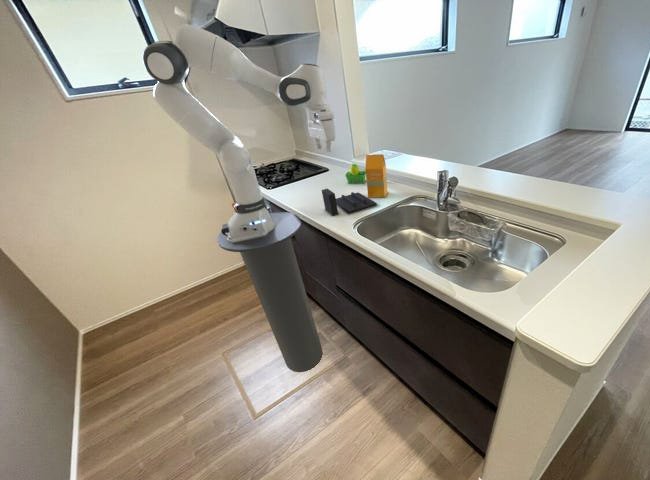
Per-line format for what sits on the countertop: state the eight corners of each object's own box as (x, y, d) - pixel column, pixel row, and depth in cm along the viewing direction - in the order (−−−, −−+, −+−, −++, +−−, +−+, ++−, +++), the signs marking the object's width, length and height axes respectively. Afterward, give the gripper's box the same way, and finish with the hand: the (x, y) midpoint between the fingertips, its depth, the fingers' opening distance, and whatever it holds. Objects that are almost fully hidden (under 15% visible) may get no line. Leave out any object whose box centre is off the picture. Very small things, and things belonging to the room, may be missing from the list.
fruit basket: (367, 179, 178) (365, 159, 171) (365, 184, 170) (362, 164, 164) (348, 180, 180) (346, 160, 173) (345, 185, 172) (342, 165, 166)
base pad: (349, 214, 138) (348, 207, 136) (332, 201, 153) (331, 195, 151) (376, 205, 143) (376, 199, 141) (358, 194, 158) (357, 188, 156)
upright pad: (332, 215, 138) (328, 195, 133) (325, 210, 145) (321, 189, 139) (338, 214, 139) (334, 193, 134) (331, 208, 146) (327, 188, 140)
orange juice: (384, 197, 151) (381, 156, 139) (368, 197, 153) (363, 157, 141) (387, 192, 157) (385, 152, 145) (371, 192, 159) (367, 152, 147)
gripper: (301, 113, 124) (308, 148, 132) (320, 115, 109) (326, 155, 117) (315, 111, 127) (321, 146, 134) (335, 113, 112) (340, 152, 119)
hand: (323, 150), depth 126 cm, fingers open, 8 cm apart
